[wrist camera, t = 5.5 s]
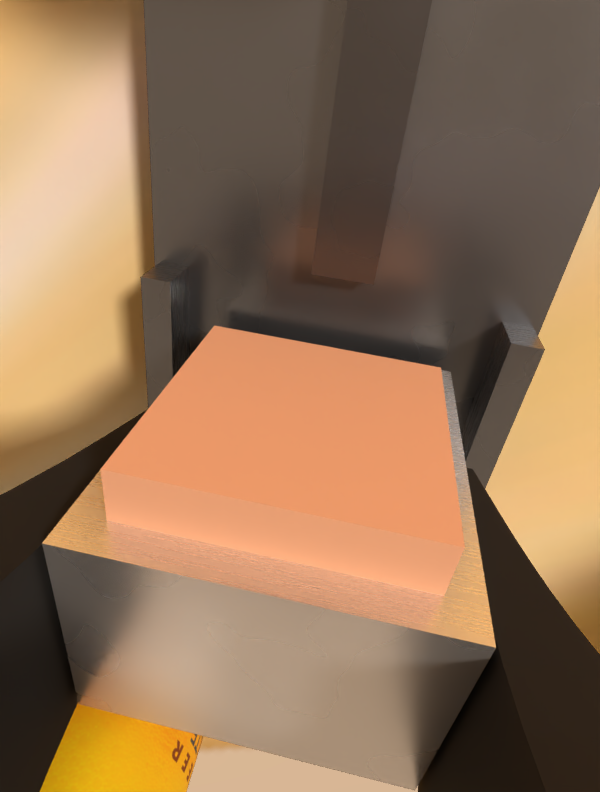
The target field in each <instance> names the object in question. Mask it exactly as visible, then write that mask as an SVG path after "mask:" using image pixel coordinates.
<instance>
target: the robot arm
mask: <svg viewBox="0 0 600 792" xmlns="http://www.w3.org/2000/svg"><path fill="white" fill-rule="evenodd" d="M146 411H147V410H146ZM146 411H145V412H146ZM145 412H143V413H141V414H140V415H138V416H137V417H135V418H133V419H132V420H130V421H129V422H127V423H125V424H124V425H122V426H121V427H119V428H117V429H116V430H114V431H113V432H111V433H109V434H108V435H106V436H105V437H103V438H101V439H100V440H98V441H96V442H95V443H93V444H91V445H90V446H88V447H86V448H85V449H83V450H81V451H80V452H78V453H76V454H75V455H73V456H71V457H70V458H68V459H66V460H65V461H63V462H61V463H59V464H57V465H56V466H54V467H52V468H50V469H48V470H46V471H45V472H43V473H41V474H39V475H37V476H35V477H34V478H32V479H30V480H28V481H26V482H24V483H23V484H21V485H19V486H17V487H15V488H13V489H12V490H10V491H8V492H6V493H4V494H2V495H0V792H40V790H41V787H42V785H43V782H44V780H45V777H46V775H47V773H48V770H49V768H50V766H51V763H52V761H53V759H54V756H55V754H56V752H57V749H58V747H59V745H60V743H61V740H62V738H63V736H64V733H65V731H66V729H67V726H68V724H69V722H70V719H71V717H72V715H73V713H74V710H75V708H76V706H77V704H78V699H77V694H76V690H75V686H74V681H73V677H72V673H71V668H70V664H69V659H68V655H67V651H66V646H65V642H64V638H63V633H62V629H61V624H60V620H59V616H58V611H57V607H56V602H55V598H54V594H53V589H52V585H51V581H50V576H49V572H48V567H47V563H46V559H45V554H44V550H43V546H42V543H43V541H44V540H45V539H46V538H47V536H48V535H49V534H50V533H51V531H52V530H53V529H54V527H55V526H56V525H57V524H58V522H59V521H60V520H61V519H62V517H63V516H64V515H65V514H66V512H67V511H68V510H69V509H70V507H71V506H72V505H73V504H74V502H75V501H76V500H77V498H78V497H79V496H80V495H81V493H82V492H83V491H84V490H85V488H86V487H87V486H88V485H89V483H90V482H91V481H92V480H93V478H94V477H95V476H96V474H97V473H98V472H99V471H100V469H101V468H102V467H103V465H104V464H105V463H106V462H107V460H108V459H109V458H110V456H111V455H112V454H113V453H114V451H115V450H116V449H117V448H118V446H119V445H120V444H121V443H122V441H123V440H124V439H125V438H126V436H127V435H128V434H129V433H130V431H131V430H132V429H133V427H134V426H135V425H136V424H137V422H138V421H139V420H140V419H141V417H142V416H143V415H144V414H145ZM467 474H468V480H469V486H470V493H471V499H472V505H473V511H474V517H475V523H476V529H477V535H478V541H479V547H480V553H481V559H482V565H483V571H484V578H485V584H486V590H487V596H488V602H489V608H490V614H491V620H492V626H493V632H494V638H495V644H496V649H495V651H494V652H493V654H492V656H491V658H490V659H489V661H488V663H487V665H486V666H485V668H484V670H483V672H482V673H481V675H480V677H479V679H478V680H477V682H476V684H475V686H474V687H473V689H472V691H471V693H470V694H469V696H468V698H467V700H466V701H465V703H464V705H463V707H462V709H461V710H460V712H459V714H458V716H457V717H456V719H455V721H454V723H453V724H452V726H451V728H450V730H449V731H448V733H447V735H446V737H445V738H444V740H443V742H442V744H441V745H440V747H439V749H438V751H437V752H436V754H435V756H434V758H433V759H432V761H431V763H430V765H429V766H428V768H427V770H426V772H425V774H424V775H423V777H422V779H421V781H420V782H419V784H418V792H600V654H599V653H598V652H597V651H596V649H595V648H594V647H593V646H592V645H591V644H590V642H589V641H588V640H587V638H586V637H585V636H584V635H583V633H582V632H581V631H580V630H579V628H578V627H577V626H576V625H575V623H574V622H573V621H572V619H571V618H570V617H569V615H568V614H567V613H566V611H565V610H564V608H563V607H562V606H561V604H560V603H559V602H558V600H557V599H556V598H555V596H554V595H553V594H552V592H551V591H550V590H549V588H548V587H547V585H546V584H545V582H544V581H543V579H542V578H541V577H540V575H539V574H538V572H537V571H536V569H535V568H534V566H533V565H532V563H531V562H530V560H529V559H528V557H527V556H526V554H525V553H524V551H523V550H522V548H521V547H520V545H519V544H518V542H517V540H516V539H515V537H514V536H513V534H512V533H511V531H510V529H509V528H508V526H507V525H506V523H505V521H504V520H503V518H502V516H501V515H500V513H499V512H498V510H497V508H496V507H495V505H494V503H493V502H492V500H491V498H490V497H489V495H488V493H487V492H486V490H485V488H484V487H483V485H482V483H481V482H480V480H479V478H478V477H477V475H476V473H475V472H474V470H473V469H471V468H467Z"/></svg>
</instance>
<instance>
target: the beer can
mask: <svg viewBox="0 0 600 792" xmlns="http://www.w3.org/2000/svg"><path fill="white" fill-rule="evenodd" d="M202 739H203V736H201V735H197V734H193V733H190V732H186V731H182V730H178V729H174V728H170V727H166V726H162V725H158V724H155V723H151V722H147V721H143V720H139V719H135V718H131V717H127V716H123V715H120V714H116V713H112V712H108V711H104V710H100V709H96V708H92V707H88V706H85V705H81V704H79V703H78V704H77V706H76V708H75V710H74V713H73V715H72V717H71V719H70V722H69V724H68V726H67V729H66V731H65V733H64V736H63V738H62V740H61V743H60V745H59V747H58V749H57V752H56V754H55V756H54V759H53V761H52V763H51V766H50V768H49V770H48V773H47V775H46V777H45V780H44V782H43V785H42V787H41V790H40V792H186V791H187V788H188V785H189V781H190V778H191V774H192V772H193V768H194V765H195V762H196V758H197V755H198V752H199V749H200V745H201V742H202Z"/></svg>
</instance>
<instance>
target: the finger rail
mask: <svg viewBox="0 0 600 792" xmlns="http://www.w3.org/2000/svg"><path fill="white" fill-rule="evenodd" d="M144 18H145V42H146V66H147V90H148V114H149V138H150V162H151V186H152V210H153V234H154V258H155V267H153V268H152V269H151V270H149V271H148V272H147V273H145V274H144V275H143V276H141V291H142V308H143V325H144V342H145V359H146V377H147V394H148V409H149V407H150V406H151V405H152V404H153V402H154V401H155V400H156V398H157V397H158V396H159V395H160V393H161V392H162V391H163V390H164V388H165V387H166V386H167V385H168V383H169V382H170V381H171V380H172V378H173V377H174V376H175V375H176V373H177V372H178V371H179V369H180V368H181V367H182V366H183V364H184V363H185V362H186V361H187V359H188V358H189V357H190V356H191V354H192V353H193V352H194V351H195V349H196V348H197V347H198V346H199V344H200V343H201V342H202V341H203V339H204V338H205V337H206V335H207V334H208V333H209V332H210V330H211V329H212V328H213V327H214V326H220V327H225V328H230V329H236V330H241V331H247V332H252V333H257V334H263V335H268V336H274V337H279V338H284V339H290V340H295V341H300V342H306V343H311V344H317V345H322V346H327V347H333V348H338V349H343V350H349V351H354V352H360V353H365V354H370V355H376V356H381V357H386V358H392V359H397V360H403V361H408V362H413V363H419V364H424V365H430V366H435V367H440V368H441V370H443V371H448V372H451V377H452V383H453V389H454V395H455V401H456V408H457V414H458V420H459V426H460V432H461V438H462V444H463V450H464V456H465V462H466V468H471V469H473V470H474V472H475V473H476V475H477V477H478V478H479V480H480V482H481V483H482V485H483V487H484V488H486V485H487V483H488V481H489V478H490V476H491V474H492V471H493V469H494V467H495V464H496V462H497V460H498V457H499V455H500V453H501V450H502V448H503V446H504V443H505V441H506V439H507V436H508V434H509V432H510V429H511V427H512V425H513V422H514V420H515V418H516V415H517V413H518V411H519V408H520V406H521V404H522V401H523V399H524V397H525V395H526V392H527V390H528V388H529V385H530V383H531V381H532V378H533V376H534V374H535V371H536V369H537V367H538V364H539V362H540V360H541V357H542V355H543V353H544V350H545V349H544V347H543V345H542V343H541V341H540V339H539V337H538V334H539V332H540V329H541V327H542V324H543V322H544V320H545V317H546V315H547V312H548V310H549V308H550V305H551V303H552V300H553V298H554V296H555V293H556V291H557V288H558V286H559V283H560V281H561V279H562V276H563V274H564V271H565V269H566V267H567V264H568V262H569V259H570V257H571V254H572V252H573V250H574V247H575V245H576V242H577V240H578V238H579V235H580V233H581V230H582V228H583V226H584V223H585V221H586V218H587V216H588V213H589V211H590V209H591V206H592V204H593V201H594V199H595V197H596V194H597V192H598V189H599V187H600V0H144Z"/></svg>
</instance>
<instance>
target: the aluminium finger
mask: <svg viewBox="0 0 600 792" xmlns="http://www.w3.org/2000/svg"><path fill="white" fill-rule="evenodd" d="M42 546H43V550H44V554H45V559H46V563H47V567H48V572H49V576H50V581H51V585H52V589H53V594H54V598H55V602H56V607H57V611H58V616H59V620H60V624H61V629H62V633H63V638H64V642H65V646H66V651H67V655H68V659H69V664H70V668H71V673H72V677H73V681H74V686H75V690H76V694H77V699H78V703H79V704H81V705H85V706H88V707H92V708H96V709H100V710H104V711H108V712H112V713H116V714H120V715H123V716H127V717H131V718H135V719H139V720H143V721H147V722H151V723H155V724H158V725H162V726H166V727H170V728H174V729H178V730H182V731H186V732H190V733H193V734H197V735H201V736H205V737H209V738H213V739H217V740H221V741H225V742H229V743H232V744H236V745H240V746H244V747H248V748H252V749H256V750H260V751H264V752H267V753H271V754H275V755H279V756H283V757H287V758H291V759H295V760H299V761H302V762H306V763H310V764H314V765H318V766H322V767H326V768H330V769H334V770H338V771H341V772H345V773H349V774H353V775H357V776H361V777H365V778H369V779H373V780H377V781H381V782H384V783H389V784H392V785H396V786H400V787H404V788H408V789H412V790H415V789H416V788H417V786H418V784H419V782H420V781H421V779H422V777H423V775H424V774H425V772H426V770H427V768H428V766H429V765H430V763H431V761H432V759H433V758H434V756H435V754H436V752H437V751H438V749H439V747H440V745H441V744H442V742H443V740H444V738H445V737H446V735H447V733H448V731H449V730H450V728H451V726H452V724H453V723H454V721H455V719H456V717H457V716H458V714H459V712H460V710H461V709H462V707H463V705H464V703H465V701H466V700H467V698H468V696H469V694H470V693H471V691H472V689H473V687H474V686H475V684H476V682H477V680H478V679H479V677H480V675H481V673H482V672H483V670H484V668H485V666H486V665H487V663H488V661H489V659H490V658H491V656H492V654H493V652H494V651H495V649H496V644H495V638H494V632H493V626H492V620H491V614H490V608H489V602H488V596H487V590H486V584H485V578H484V571H483V565H482V559H481V553H480V547H479V541H478V535H477V529H476V523H475V517H474V511H473V505H472V499H471V493H470V486H469V480H468V474H467V468H466V462H465V456H464V450H463V444H462V438H461V432H460V426H459V420H458V414H457V408H456V401H455V395H454V389H453V383H452V377H451V372H448V371H443V370H441V368H440V367H435V366H430V365H424V364H419V363H413V362H408V361H403V360H397V359H392V358H386V357H381V356H376V355H370V354H365V353H360V352H354V351H349V350H343V349H338V348H333V347H327V346H322V345H317V344H311V343H306V342H300V341H295V340H290V339H284V338H279V337H274V336H268V335H263V334H257V333H252V332H247V331H241V330H236V329H230V328H225V327H220V326H214V327H213V328H212V329H211V330H210V332H209V333H208V334H207V335H206V337H205V338H204V339H203V341H202V342H201V343H200V344H199V346H198V347H197V348H196V349H195V351H194V352H193V353H192V354H191V356H190V357H189V358H188V359H187V361H186V362H185V363H184V364H183V366H182V367H181V368H180V369H179V371H178V372H177V373H176V375H175V376H174V377H173V378H172V380H171V381H170V382H169V383H168V385H167V386H166V387H165V388H164V390H163V391H162V392H161V393H160V395H159V396H158V397H157V398H156V400H155V401H154V402H153V404H152V405H151V406H150V407H149V409H148V410H147V411H146V412H145V414H144V415H143V416H142V417H141V419H140V420H139V421H138V422H137V424H136V425H135V426H134V427H133V429H132V430H131V431H130V433H129V434H128V435H127V436H126V438H125V439H124V440H123V441H122V443H121V444H120V445H119V446H118V448H117V449H116V450H115V451H114V453H113V454H112V455H111V456H110V458H109V459H108V460H107V462H106V463H105V464H104V465H103V467H102V468H101V469H100V471H99V472H98V473H97V474H96V476H95V477H94V478H93V480H92V481H91V482H90V483H89V485H88V486H87V487H86V488H85V490H84V491H83V492H82V493H81V495H80V496H79V497H78V498H77V500H76V501H75V502H74V504H73V505H72V506H71V507H70V509H69V510H68V511H67V512H66V514H65V515H64V516H63V517H62V519H61V520H60V521H59V522H58V524H57V525H56V526H55V527H54V529H53V530H52V531H51V533H50V534H49V535H48V536H47V538H46V539H45V540H44V541H43V543H42Z"/></svg>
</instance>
